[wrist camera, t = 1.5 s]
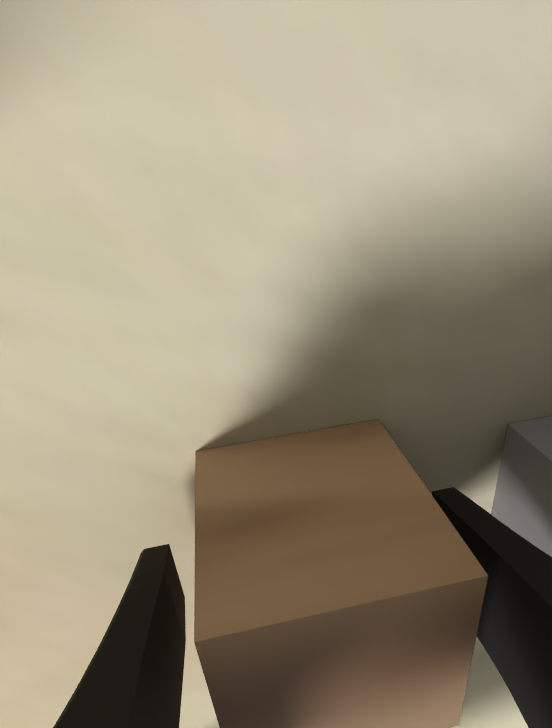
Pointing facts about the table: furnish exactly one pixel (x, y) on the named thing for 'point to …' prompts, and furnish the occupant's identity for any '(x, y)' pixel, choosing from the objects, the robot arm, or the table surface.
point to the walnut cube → (330, 585)
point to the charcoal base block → (527, 482)
